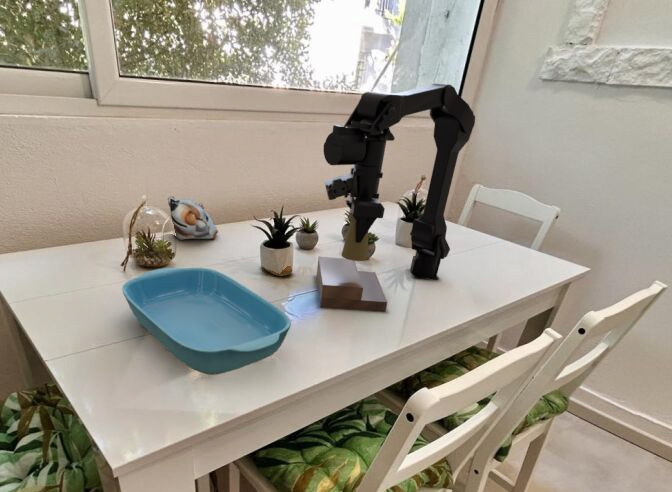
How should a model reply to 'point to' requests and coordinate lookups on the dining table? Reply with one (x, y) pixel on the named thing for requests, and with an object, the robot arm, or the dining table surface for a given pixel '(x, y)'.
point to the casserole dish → (206, 318)
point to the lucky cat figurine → (191, 220)
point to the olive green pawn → (355, 244)
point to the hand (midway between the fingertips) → (356, 239)
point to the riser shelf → (348, 286)
